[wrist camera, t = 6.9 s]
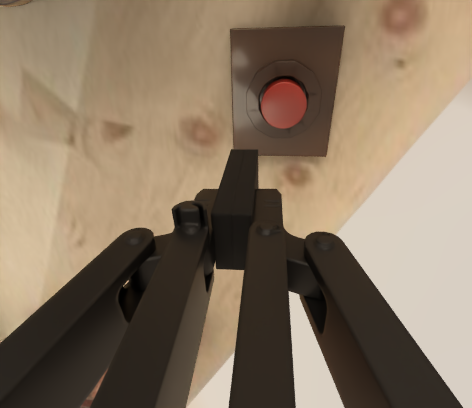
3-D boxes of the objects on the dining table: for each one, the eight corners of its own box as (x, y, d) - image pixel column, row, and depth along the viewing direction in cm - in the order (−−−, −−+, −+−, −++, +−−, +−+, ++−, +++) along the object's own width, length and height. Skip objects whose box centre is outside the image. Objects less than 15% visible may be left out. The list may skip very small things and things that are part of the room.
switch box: (232, 28, 28) (227, 28, 25) (340, 25, 27) (350, 25, 24) (235, 148, 34) (231, 161, 31) (323, 149, 33) (329, 163, 30)
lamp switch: (262, 78, 27) (261, 82, 25) (306, 78, 26) (309, 81, 24) (261, 122, 29) (260, 128, 27) (302, 122, 28) (304, 129, 27)
